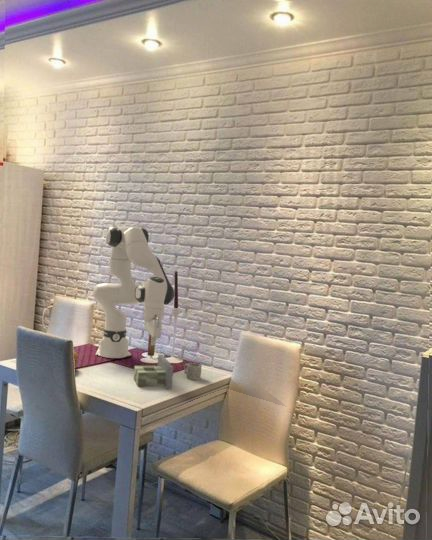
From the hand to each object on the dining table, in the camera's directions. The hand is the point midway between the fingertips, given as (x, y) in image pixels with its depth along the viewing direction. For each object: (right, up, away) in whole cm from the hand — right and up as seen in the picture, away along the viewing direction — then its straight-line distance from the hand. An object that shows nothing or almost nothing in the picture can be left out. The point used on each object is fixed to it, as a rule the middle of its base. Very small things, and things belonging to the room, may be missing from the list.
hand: (151, 343), depth 218 cm
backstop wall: (+5, -18, +3) cm, 19 cm away
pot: (-42, -14, +9) cm, 45 cm away
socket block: (-2, -18, +1) cm, 18 cm away
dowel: (0, -5, 0) cm, 5 cm away
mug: (+17, -19, +15) cm, 29 cm away
